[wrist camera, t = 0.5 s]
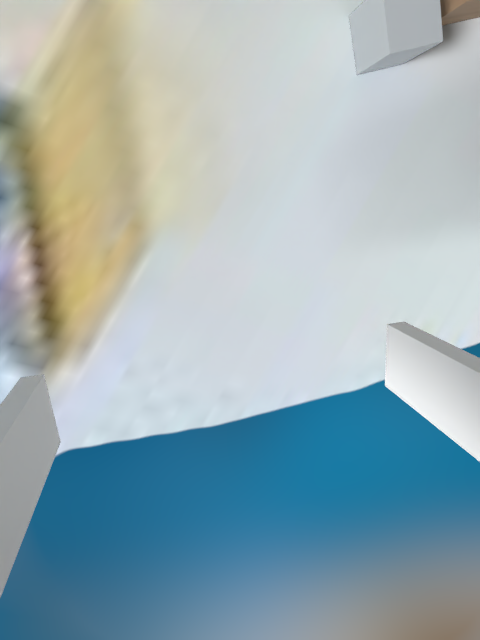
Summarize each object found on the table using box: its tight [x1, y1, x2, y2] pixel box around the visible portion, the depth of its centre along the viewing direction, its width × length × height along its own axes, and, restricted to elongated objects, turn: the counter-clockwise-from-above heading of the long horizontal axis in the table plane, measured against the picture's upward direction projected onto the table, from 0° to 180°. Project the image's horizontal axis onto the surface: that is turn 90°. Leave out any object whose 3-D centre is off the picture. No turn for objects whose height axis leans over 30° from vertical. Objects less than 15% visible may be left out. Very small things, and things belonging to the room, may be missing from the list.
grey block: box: [349, 0, 443, 75], centre depth 36 cm, size 5×5×6 cm
